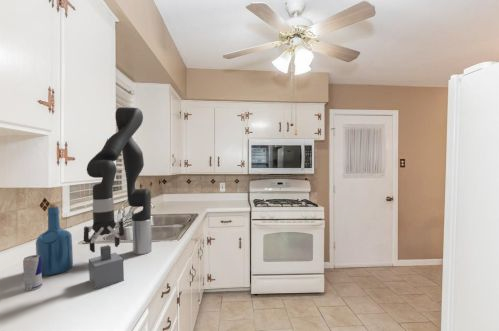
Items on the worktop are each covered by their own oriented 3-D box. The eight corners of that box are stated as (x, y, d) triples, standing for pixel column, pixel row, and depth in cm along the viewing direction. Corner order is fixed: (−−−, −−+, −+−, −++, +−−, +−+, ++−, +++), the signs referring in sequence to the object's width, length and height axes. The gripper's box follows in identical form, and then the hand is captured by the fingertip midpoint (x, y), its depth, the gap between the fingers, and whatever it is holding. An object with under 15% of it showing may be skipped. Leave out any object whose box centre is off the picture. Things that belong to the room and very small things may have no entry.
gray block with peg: (89, 280, 109) (88, 246, 108) (116, 272, 116) (115, 241, 115) (95, 289, 101) (94, 253, 101) (123, 280, 108) (122, 246, 108)
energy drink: (45, 284, 106) (44, 254, 106) (35, 291, 101) (33, 259, 100) (31, 284, 106) (30, 254, 106) (20, 291, 101) (19, 260, 100)
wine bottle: (44, 266, 124) (41, 202, 123) (77, 262, 128) (74, 200, 127) (30, 279, 111) (27, 207, 110) (67, 274, 115) (64, 205, 114)
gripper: (119, 205, 115) (120, 242, 116) (81, 210, 106) (82, 251, 106) (125, 208, 109) (126, 247, 110) (85, 213, 100) (86, 256, 101)
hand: (105, 249), depth 108 cm, fingers open, 8 cm apart
